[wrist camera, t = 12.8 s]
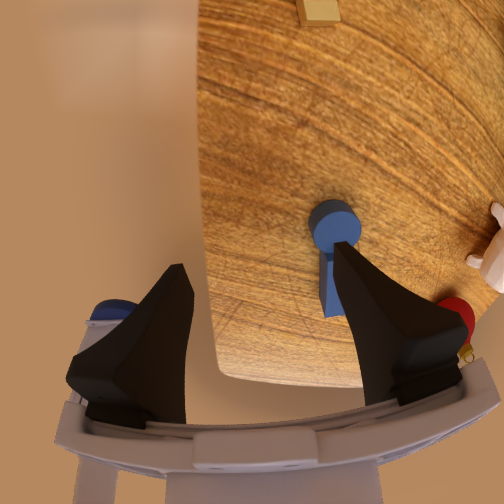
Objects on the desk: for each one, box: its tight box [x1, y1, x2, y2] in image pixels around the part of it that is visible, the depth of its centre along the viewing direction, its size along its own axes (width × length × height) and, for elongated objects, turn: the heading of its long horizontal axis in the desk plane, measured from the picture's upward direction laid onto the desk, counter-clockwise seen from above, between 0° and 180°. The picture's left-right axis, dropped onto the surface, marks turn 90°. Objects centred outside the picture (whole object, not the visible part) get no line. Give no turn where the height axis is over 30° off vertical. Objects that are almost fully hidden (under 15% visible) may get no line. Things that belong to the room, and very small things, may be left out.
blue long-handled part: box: [309, 200, 361, 318], centre depth 23 cm, size 11×4×3 cm, turn 9°
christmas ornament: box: [437, 297, 475, 363], centre depth 26 cm, size 7×7×10 cm
